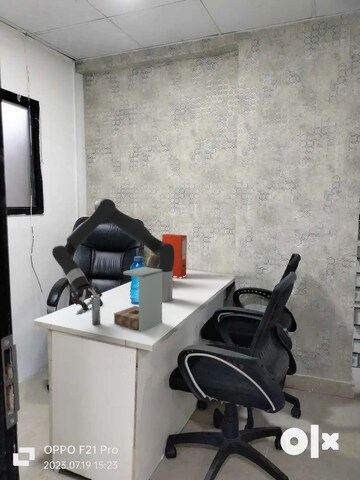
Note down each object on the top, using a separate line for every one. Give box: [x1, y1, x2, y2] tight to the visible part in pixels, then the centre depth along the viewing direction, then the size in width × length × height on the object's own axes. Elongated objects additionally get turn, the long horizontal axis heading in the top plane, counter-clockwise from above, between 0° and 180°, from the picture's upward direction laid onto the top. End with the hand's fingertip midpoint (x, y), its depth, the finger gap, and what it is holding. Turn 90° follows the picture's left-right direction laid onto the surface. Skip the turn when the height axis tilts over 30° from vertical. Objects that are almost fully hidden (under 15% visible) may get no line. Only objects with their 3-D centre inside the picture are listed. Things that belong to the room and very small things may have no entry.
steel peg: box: [91, 297, 101, 326], centre depth 156 cm, size 4×4×12 cm
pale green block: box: [122, 266, 163, 333], centre depth 155 cm, size 11×14×25 cm
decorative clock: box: [146, 250, 160, 269], centre depth 235 cm, size 28×13×30 cm, turn 159°
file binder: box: [161, 233, 188, 277], centre depth 258 cm, size 8×17×32 cm, turn 57°
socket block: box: [113, 305, 139, 331], centre depth 158 cm, size 14×14×5 cm
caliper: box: [75, 296, 96, 316], centre depth 179 cm, size 20×1×6 cm, turn 165°
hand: (94, 308), depth 156 cm, fingers open, 8 cm apart
